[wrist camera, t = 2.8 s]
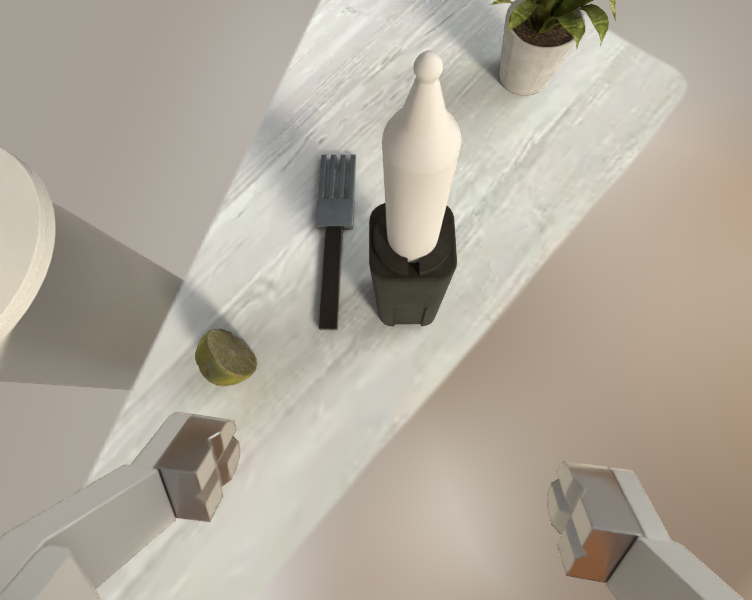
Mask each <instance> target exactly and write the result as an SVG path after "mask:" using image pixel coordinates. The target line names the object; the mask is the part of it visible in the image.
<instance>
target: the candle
mask: <svg viewBox="0 0 752 600" xmlns="http://www.w3.org/2000/svg"><path fill="white" fill-rule="evenodd" d="M442 70H443V62H442V59H441V58H440V56H439V55H438V54H437V53H435V52H434V51H425V52H423V53H422V54H420V55H419V56H418V57H417V58H416V60H415V62H414V73H415V75H416V78H415V81H414V83H413V85H412V88H411V90H410V92H409V95H408V97H407V99H406V102H405V104H404V106H403V108H401V109H400V110H399V111H398V112H396V113H395V114H394V115H393V117H392V118H391V119H390V120H389V121H388V123H387V125H386V127H385V129H384V132H383V139H382V150H383V168H384V186H385V203H384V204H381V205H379V206H378V207H376V208H375V209H374V210H373V211H372V213H371V216H370V221H369V264H370V270H371V276H372V281H373V286H374V291H375V296H376V302H377V307H378V312H379V317H380V319H381V321H382V322H383V323H384V324H385V325H388V326H394V325H395V324H421V326H426V325H428V324H430V323H431V322H433V320H434V319H435V316H436V314H437V311H438V309H439V307H440V304H441V302H442V300H443V297H444V295H445V293H446V290H447V288H448V286H449V283H450V281H451V278H452V276H453V274H454V271H455V269H456V266H457V255H456V239H455V224H454V216H453V213H452V211H451V209H450V208H449V207H448V206H447V201H448V197H449V193H450V189H451V185H452V180H453V176H454V172H455V168H456V164H457V160H458V156H459V152H460V148H461V133H460V129H459V126H458V124H457V122H456V121H455V119H454V118H453V116H452V115H451V114H450V113H449V112H448V111H447V110H446V108H445V104H444V99H443V95H442V91H441V87H440V83H439V76H440V75H441V73H442Z"/></svg>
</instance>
